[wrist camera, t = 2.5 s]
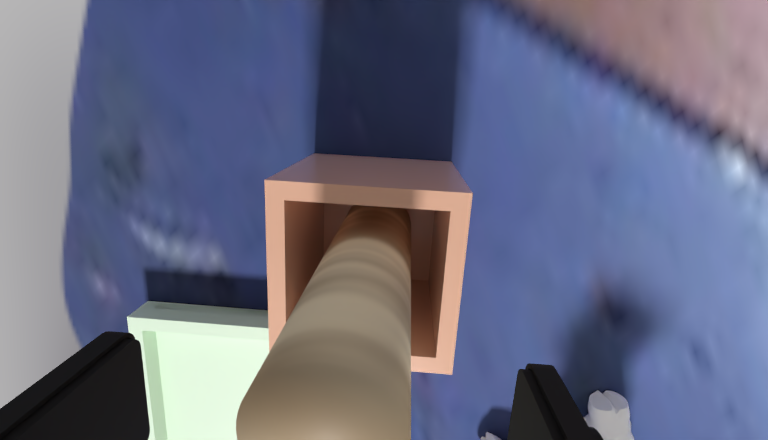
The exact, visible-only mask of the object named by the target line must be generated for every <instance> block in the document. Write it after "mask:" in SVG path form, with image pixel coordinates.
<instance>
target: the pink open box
mask: <svg viewBox="0 0 768 440" xmlns="http://www.w3.org/2000/svg"><path fill="white" fill-rule="evenodd" d="M472 195H473V193H472V192H471V190H470V189H469V187H468V186H467V184H466V183H465V181H464V180H463V178H462V177H461V175H460V174H459V172H458V171H457V169H456V168H455V166H454V165H453V163H452V162H450V161H433V160H417V159H401V158H384V157H368V156H352V155H335V154H319V153H314V154H312V155H310V156H308V157H306V158H304V159H303V160H301V161H299V162H297V163H295V164H293V165H291V166H290V167H288V168H286V169H284V170H282V171H280V172H278V173H277V174H275V175H273V176H271V177H269V178H267V179H265V213H266V250H267V288H268V326H269V352H270V350H271V348H272V347H273V345H274V343H275V341H276V339H277V338H278V336H279V334H280V332H281V331H282V329H283V327H284V325H285V324H286V322H287V320H288V318H289V316H290V315H291V313H292V311H293V309H294V308H295V306H296V304H297V302H298V301H299V299H300V297H301V295H302V293H303V292H304V290H305V288H306V286H307V285H308V283H309V281H310V279H311V277H312V276H313V274H314V272H315V270H316V269H317V267H318V265H319V263H320V262H321V260H322V258H323V256H324V254H325V253H326V251H327V249H328V247H329V246H330V244H331V242H332V240H333V239H334V237H335V235H336V233H337V231H338V230H339V228H340V226H341V224H342V223H343V221H344V219H345V217H346V215H347V214H348V212H349V210H350V208H351V207H352V206H353V205H363V206H378V207H393V208H405V209H406V210H407V212H408V214H409V217H410V221H411V371H414V372H426V373H438V374H450V375H452V370H453V362H454V353H455V344H456V335H457V326H458V318H459V309H460V300H461V291H462V283H463V274H464V265H465V256H466V248H467V239H468V230H469V221H470V213H471V204H472Z"/></svg>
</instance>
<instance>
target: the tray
mask: <svg viewBox="0 0 768 440" xmlns="http://www.w3.org/2000/svg"><path fill="white" fill-rule="evenodd" d="M127 322H128V329H129V333H131V334H133V335H134V337H135V339H136V340H139V342H140V344H141V351H142V360H143V370H144V379H145V388H146V397H147V406H148V416H149V425H150V434H149V438H148V440H237V434H236V419H237V413H238V410H239V407H240V404H241V402H242V400H243V398H244V396H245V394H246V393H247V391H248V389H249V387H250V386H251V384H252V382H253V380H254V378H255V377H256V375H257V373H258V371H259V370H260V368H261V366H262V364H263V363H264V361H265V359H266V357H267V355H268V354H269V326H268V310H257V309H244V308H232V307H219V306H206V305H194V304H181V303H168V302H156V301H147V302H146V303H145V304H143V305H142V306H141V307H139V308H138V309H137V310H135V311H134V312H133V313H131V314H130V315H129V316H128V317H127Z"/></svg>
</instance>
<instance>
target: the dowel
mask: <svg viewBox="0 0 768 440" xmlns="http://www.w3.org/2000/svg"><path fill="white" fill-rule="evenodd" d="M236 434H237V440H411V221H410V217H409V214H408V212H407V210H406V209H405V208H393V207H378V206H363V205H353V206H352V207H351V208H350V210H349V212H348V214H347V215H346V217H345V219H344V221H343V223H342V224H341V226H340V228H339V230H338V231H337V233H336V235H335V237H334V239H333V240H332V242H331V244H330V246H329V247H328V249H327V251H326V253H325V254H324V256H323V258H322V260H321V262H320V263H319V265H318V267H317V269H316V270H315V272H314V274H313V276H312V277H311V279H310V281H309V283H308V285H307V286H306V288H305V290H304V292H303V293H302V295H301V297H300V299H299V301H298V302H297V304H296V306H295V308H294V309H293V311H292V313H291V315H290V316H289V318H288V320H287V322H286V324H285V325H284V327H283V329H282V331H281V332H280V334H279V336H278V338H277V339H276V341H275V343H274V345H273V347H272V348H271V350H270V352H269V354H268V355H267V357H266V359H265V361H264V363H263V364H262V366H261V368H260V370H259V371H258V373H257V375H256V377H255V378H254V380H253V382H252V384H251V386H250V387H249V389H248V391H247V393H246V394H245V396H244V398H243V400H242V402H241V404H240V407H239V410H238V413H237V419H236Z"/></svg>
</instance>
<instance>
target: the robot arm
mask: <svg viewBox="0 0 768 440" xmlns="http://www.w3.org/2000/svg"><path fill="white" fill-rule="evenodd" d="M149 434H150V425H149V416H148V406H147V397H146V388H145V379H144V370H143V360H142V351H141V344H140V342H139V340H136V339H135V337H134V335H133V334H131V333H123V332H110V331H109V332H104V333H102V334H101V335H100V336H98V337H97V338H96V339H94V340H93V341H91V342H90V343H89V344H87V345H86V346H85V347H83V348H82V349H81V350H79V351H78V352H77V353H76V354H74V355H73V356H71V357H70V358H68V359H67V360H66V361H64V362H63V363H62V364H60V365H59V366H58V367H56V368H55V369H54V370H52V371H51V372H50V373H48V374H47V375H45V376H44V377H43V378H42V379H40V380H39V381H37V382H36V383H35V384H33V385H32V386H31V387H29V388H28V389H27V390H25V391H24V392H23V393H21V394H20V395H19V396H17V397H16V398H15V399H13V400H12V401H10V402H9V403H8V404H6V405H5V406H3V407H2V408H1V409H0V440H148V438H149ZM507 440H603V438H602V436H601V435H600V433H599V432H598V431H597V430H596V429H595V428H593V427H589V426H588V425H587V423H586V421H585V419H584V418H583V416H582V414H581V412H580V411H579V409H578V407H577V405H576V404H575V402H574V400H573V399H572V397H571V395H570V393H569V392H568V390H567V388H566V386H565V385H564V383H563V381H562V379H561V378H560V376H559V374H558V372H557V371H556V369H555V368H554V366H552V365H542V364H527V366H526V369H520V370H519V371H518V375H517V381H516V387H515V394H514V400H513V406H512V413H511V419H510V426H509V432H508V438H507Z"/></svg>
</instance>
